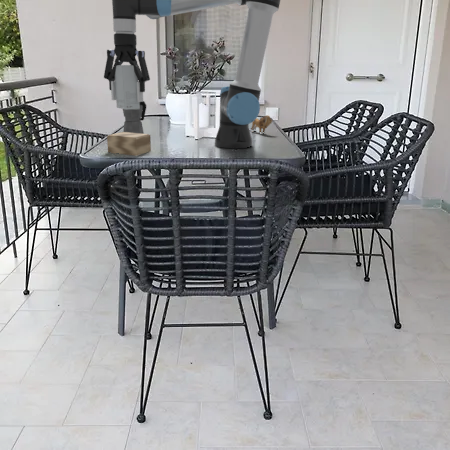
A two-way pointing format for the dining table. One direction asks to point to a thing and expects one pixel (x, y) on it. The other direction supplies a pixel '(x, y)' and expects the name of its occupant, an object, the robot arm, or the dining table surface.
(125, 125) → the coffeepot
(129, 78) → the skincare box
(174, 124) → the dining table surface
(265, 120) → the lion figurine
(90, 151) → the dining table surface
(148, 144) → the oak block
